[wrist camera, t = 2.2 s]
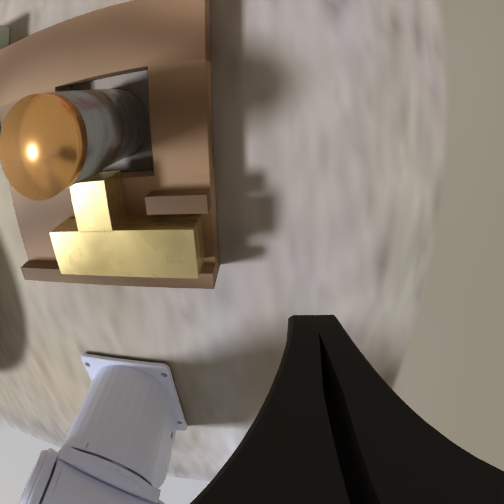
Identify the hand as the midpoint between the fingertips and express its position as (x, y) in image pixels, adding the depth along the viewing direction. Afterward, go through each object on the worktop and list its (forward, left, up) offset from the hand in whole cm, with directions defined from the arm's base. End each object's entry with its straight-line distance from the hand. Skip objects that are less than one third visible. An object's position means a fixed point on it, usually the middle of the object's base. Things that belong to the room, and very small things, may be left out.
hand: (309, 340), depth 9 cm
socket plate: (+5, +11, -9) cm, 15 cm away
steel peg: (+6, +10, -9) cm, 14 cm away
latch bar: (+1, +9, -8) cm, 11 cm away
